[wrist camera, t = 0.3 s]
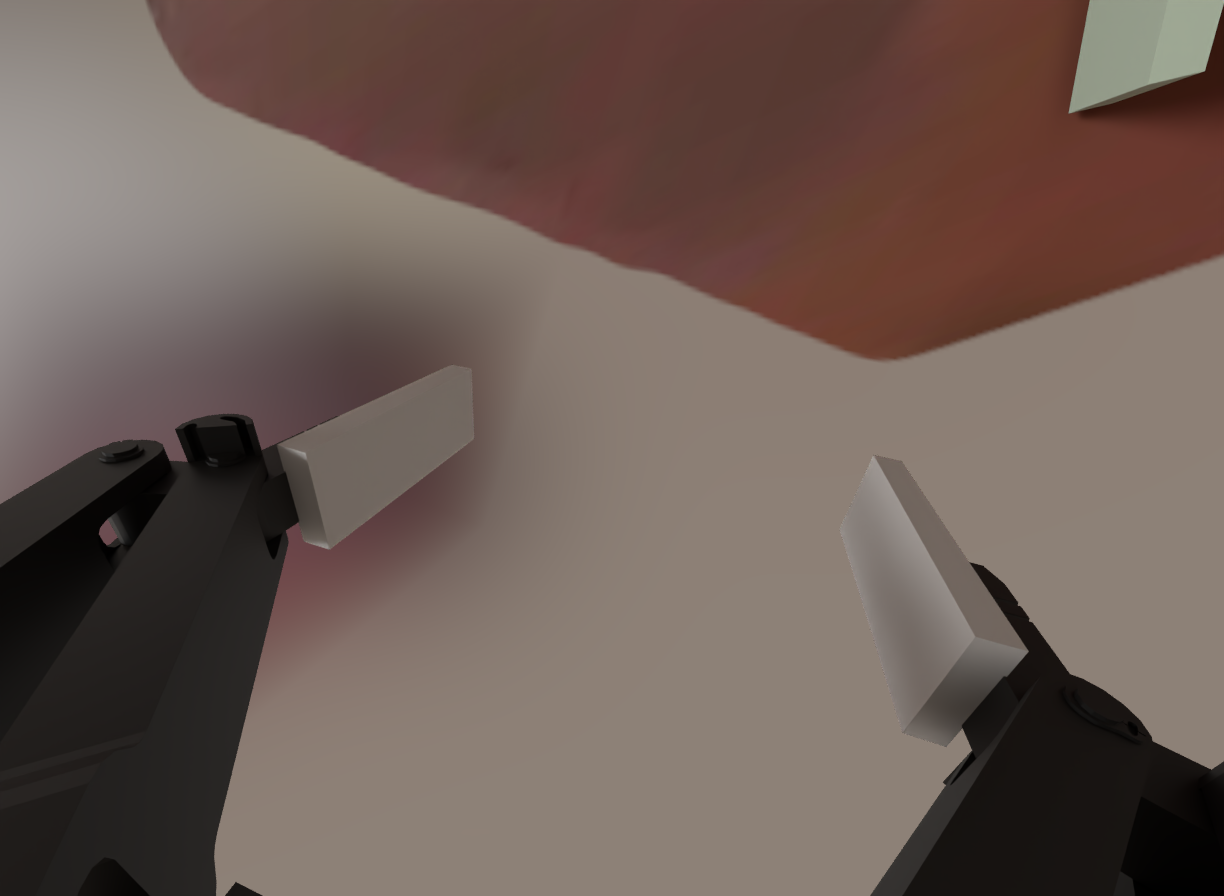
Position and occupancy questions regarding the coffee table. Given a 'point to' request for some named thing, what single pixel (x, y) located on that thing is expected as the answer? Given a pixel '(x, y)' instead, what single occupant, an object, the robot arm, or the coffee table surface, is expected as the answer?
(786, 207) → the coffee table surface
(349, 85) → the coffee table surface
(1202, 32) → the gate
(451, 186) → the coffee table surface
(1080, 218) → the coffee table surface
